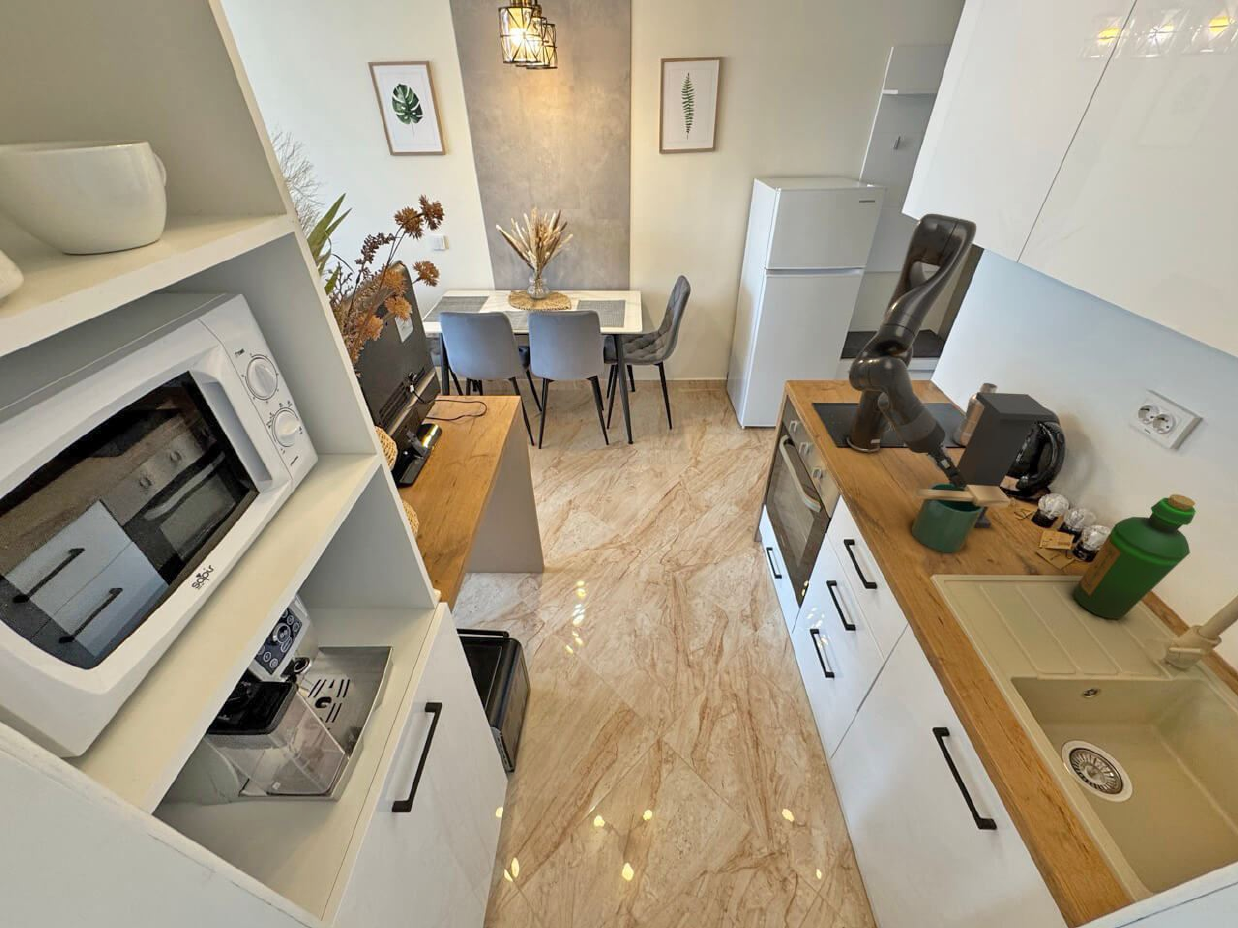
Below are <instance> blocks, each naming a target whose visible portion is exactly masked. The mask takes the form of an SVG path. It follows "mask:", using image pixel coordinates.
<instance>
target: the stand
mask: <svg viewBox="0 0 1238 928" xmlns="http://www.w3.org/2000/svg"><path fill="white" fill-rule="evenodd" d="M976 393H977V395H976V397H975V398H976V399H977V400H978V401H979V402H980V403H981V404H982V405H983V406H984V407H985V408H984V410H983V412H982V414H981V416H980V418H979V420H978V422H977V425H976V427H975V429H974V431H973V433H972V435H971V437H970V439H969V442H968V444H967V446H965V448H964V451H963V452H962V454H961V456H960V458H959V460H958V463H957V465H956V468H957V469H958V470H959V471H960V473H962V477H963V479H964V480H965V481H966V484H965V485H963V486H961V487H963V488H965V487H966V485H980V486H997V487H999V488H1000V487H1001V485H1002V483H1003V481H1004V480H1005V478H1006V475H1007V474H1008V472H1009V471H1010V468H1011V467H1012V465H1013V463H1014V462H1015V459H1016V457H1017V456H1018V453H1019V452H1020V450H1021V448H1022V446H1023V444H1024V443H1025V441H1026V440H1027V437H1028V435H1029V433H1030V432H1031V429H1032V428H1033V426H1034V424H1035V422H1052V421H1053V419H1054V417H1055V414H1053V413H1052V412H1051V411H1050V410H1048V409H1047V408H1046V407H1045V406H1043V405H1042V404H1041V403H1039V401H1036V399H1034V398H1033V397H1032V396H1030V395H1029V394H1027V393H1009V392H1008V393H1005V392H995V393H985V392H980V391H977V392H976ZM948 484H953V483H952V482H951V481H949V482H948ZM953 485H954V484H953ZM988 509H989V507H984V508H983V510H982V512H981V514H980V516H979V518H978V520H977V522H976V523H975V525H974V527H973V528H986V529H989V528H990V526H991V525H992V522H991V521H990V520H989V519H988V517H987V516H986V515H985V514H986V513H987V511H988Z"/></svg>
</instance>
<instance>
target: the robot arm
mask: <svg viewBox="0 0 1238 928" xmlns="http://www.w3.org/2000/svg"><path fill="white" fill-rule="evenodd" d="M976 233H977V224H976V223H975V222H973V221H971V220H968V219H964V218H959V217H956V216H951V215H945V214H941V213H927V214H925V215H923V216H922V217H921V218H920V219H919V220H918V221H917V223H916V225H915V226H914V229H913V231H912V233H911V234H910V238H909V241H908V244H907V246H906V251H905V254H904V257H903V262H902V265H901V269H900V272H899V275H898V278H897V281H896V283H895V285H894V288H893V290H892V293H891V295H890V297H889V299H888V302H887V305H886V307H885V310H884V314H883V317H882V321H881V323H880V325H879V328H878V329H877V331H876V333H875V335H874V336H873V337H872V338H871V339H869V341H868V343H866V345H865V346H864V347H863V348H862V350H860V352H859V353H858V354H857V356H856V357H855V358H854V359H853V361H852V363H851V365H850V367H849V371H848V381H849V384H850V386H851V387H852V388H853V389H854V390H855V391H857V392H861V395H860V398H859V401H858V405H857V407H856V411H855V415H854V418H853V421H852V424H851V426H850V430H849V434H848V436H847V439H846V444H847V445H848V446H849V447H850V448H852V449H853V450H855V451H857V452H861V453H868V454H869V453H875V452H878V451H879V449H880V447H881V444H882V440H883V438H884V435H885V432H886V430H887V427H888V423H890V425H891V427H892V428H893V430H894V431H895V433H896V434H897V435H898V437H899V438H900V439H901V441H902V442H903V443H904V445H906V447H907V448H908V450H909V451H910V452H912V453H913V454H924V455H925V457H926V458H927V460H929V461H930V462H932V463H933V465H934V466H935V468H936V469H937V470H938V471H942V472H943V474H944V475H945V477H946V479H947V480H948V481H949V482H950V481H951V482H952V483H953V484H954V486H955V487H956V488H959V487H961V486H963V485H965V484H966V481H965V480H964V479H963V477H962V473H960V471H959V470H958V469H957V468H956V467H957V465H955V460H954V459H953V457H952V456H951V455H950V454H949V452H948V448H947V447H946V446H945V445H944V443H943V442H944V440H945V438H946V431H945V429H944V428H943V427H942V425H941V423H940V422H939V421H938V420H937V418H936V417H935V416H934V414H933V413H932V411H931V410H930V409H929V407H927V406H926V404H924V403H923V402H922V400H921V398H920V397H919V396H918V395H917V393H916V392H915V391H914V388H913V384H912V380H911V377H910V376H911V375H910V373H909V370H908V369H909V367H910V364H911V362H912V360H913V355H914V347H913V344H914V342H915V340H916V338H917V336H918V334H919V332H920V330H921V328H922V326H923V324H924V322H925V321H926V318H927V316H928V315H929V313H930V312H931V310H932V308H933V307H934V306H935V303H936V302H937V301H938V299H939V298H940V296H941V295H942V293H943V292H944V291H945V290H946V287H947V286H948V285H949V283H950V282H951V280H952V278H953V277H954V275H955V274H956V272H957V271H958V269H959V267H960V266H961V264H962V262H963V261H964V259H965V257H966V256H967V254H968V252H969V250H970V249H971V247H972V244H973V241H974V239H975V237H976ZM923 264H925V265H930V266H934V267H938V269H937V270H936V271H935V272H934V273H933V275H931V276H930V277H929V278H928V277H927V275H926V273H925V271H924V270H925V269H924V265H923ZM942 443H943V444H942Z"/></svg>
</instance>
